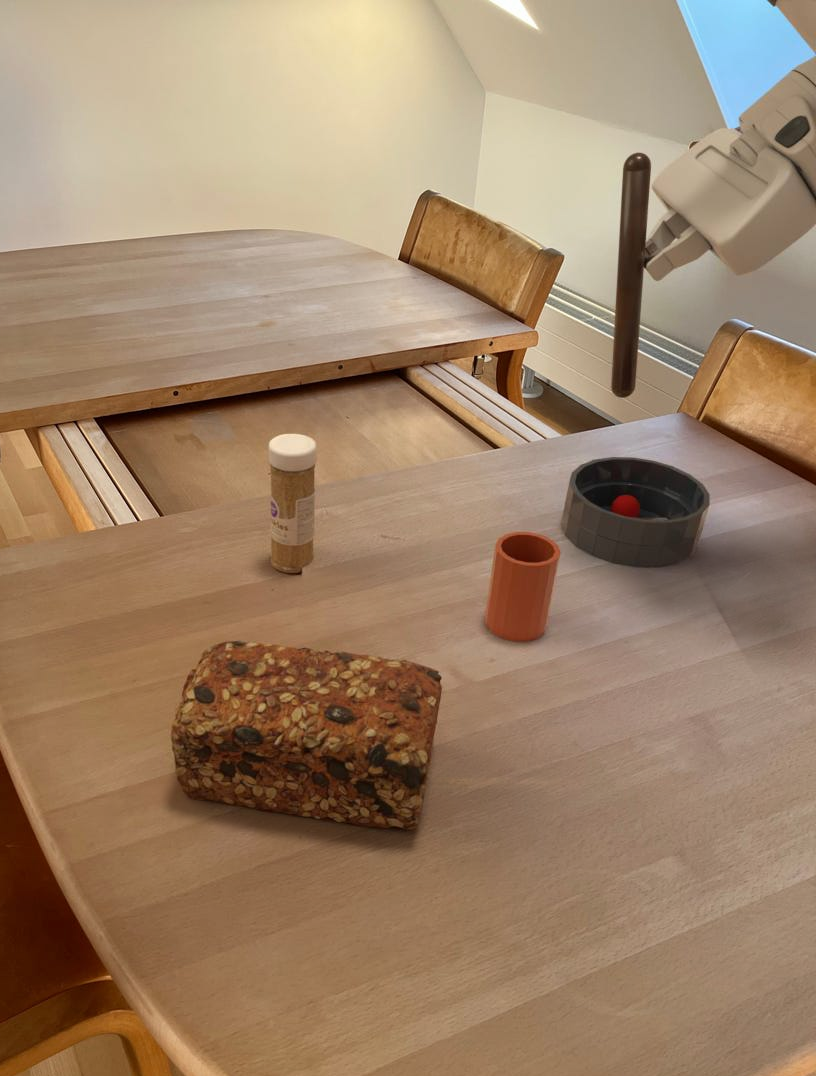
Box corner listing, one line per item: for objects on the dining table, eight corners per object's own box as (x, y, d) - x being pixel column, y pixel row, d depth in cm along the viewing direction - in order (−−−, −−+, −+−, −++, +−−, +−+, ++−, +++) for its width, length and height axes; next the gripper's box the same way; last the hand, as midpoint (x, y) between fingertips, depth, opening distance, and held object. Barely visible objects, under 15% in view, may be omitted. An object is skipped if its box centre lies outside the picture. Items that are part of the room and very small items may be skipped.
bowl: (673, 505, 110) (686, 457, 107) (713, 574, 99) (729, 523, 95) (549, 503, 110) (558, 455, 106) (575, 572, 99) (586, 521, 95)
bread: (437, 746, 78) (448, 648, 72) (418, 846, 70) (429, 745, 63) (215, 710, 81) (208, 613, 75) (171, 802, 72) (159, 701, 66)
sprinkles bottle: (261, 561, 99) (258, 440, 91) (295, 546, 101) (295, 427, 93) (289, 580, 96) (289, 457, 88) (324, 564, 99) (326, 443, 91)
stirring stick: (630, 390, 92) (647, 147, 79) (637, 399, 91) (655, 153, 78) (607, 393, 92) (620, 151, 79) (614, 403, 91) (628, 157, 78)
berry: (632, 514, 107) (638, 490, 106) (639, 528, 105) (645, 503, 103) (605, 513, 107) (611, 489, 106) (612, 527, 105) (617, 503, 103)
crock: (538, 612, 93) (553, 532, 88) (549, 648, 89) (565, 565, 83) (480, 612, 93) (491, 531, 87) (488, 647, 88) (500, 565, 83)
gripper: (726, 91, 85) (595, 207, 91) (823, 140, 69) (656, 278, 75) (761, 147, 88) (632, 257, 94) (862, 207, 72) (699, 335, 78)
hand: (643, 267), depth 84 cm, fingers closed on stirring stick, 2 cm apart
